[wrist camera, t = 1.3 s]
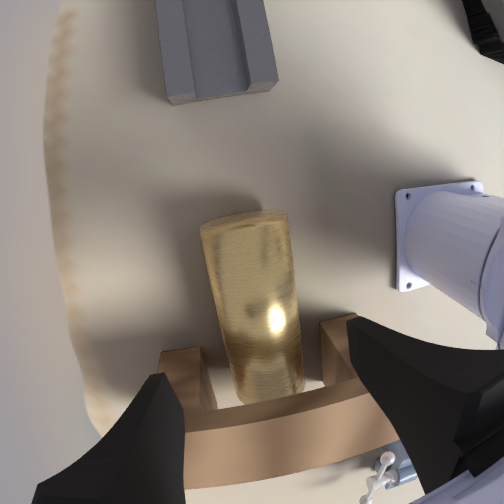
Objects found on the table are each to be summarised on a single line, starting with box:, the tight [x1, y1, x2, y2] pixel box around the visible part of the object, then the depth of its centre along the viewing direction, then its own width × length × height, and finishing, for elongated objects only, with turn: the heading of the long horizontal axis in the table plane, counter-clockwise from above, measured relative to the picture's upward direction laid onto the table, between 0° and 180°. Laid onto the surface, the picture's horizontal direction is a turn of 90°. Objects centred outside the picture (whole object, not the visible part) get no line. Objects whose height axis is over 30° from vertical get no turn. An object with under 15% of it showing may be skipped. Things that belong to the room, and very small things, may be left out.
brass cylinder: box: [199, 210, 305, 405], centre depth 20 cm, size 5×12×5 cm, turn 9°
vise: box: [359, 438, 417, 504], centre depth 28 cm, size 18×10×7 cm, turn 89°
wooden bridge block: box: [157, 313, 399, 490], centre depth 20 cm, size 15×6×8 cm, turn 99°
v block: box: [155, 0, 279, 106], centre depth 15 cm, size 6×11×3 cm, turn 9°
